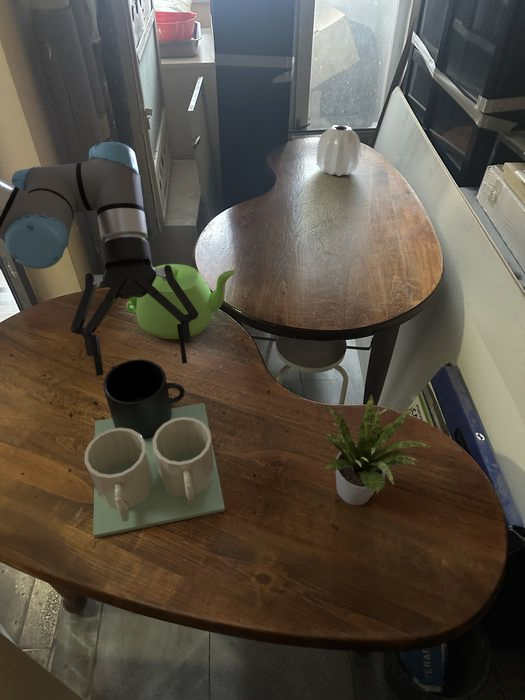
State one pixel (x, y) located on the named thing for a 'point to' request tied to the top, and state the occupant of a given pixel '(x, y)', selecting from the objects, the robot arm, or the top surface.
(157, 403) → the mug
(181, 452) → the cream mug right
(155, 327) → the teapot
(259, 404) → the top surface
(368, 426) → the house plant
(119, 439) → the cream mug left
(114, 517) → the mug mat
